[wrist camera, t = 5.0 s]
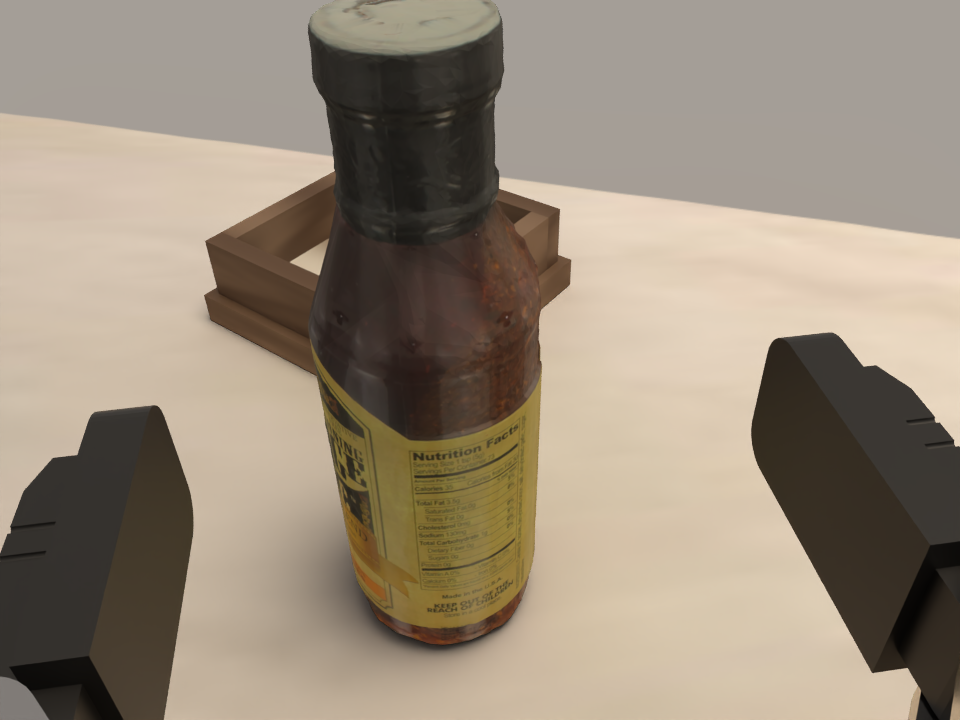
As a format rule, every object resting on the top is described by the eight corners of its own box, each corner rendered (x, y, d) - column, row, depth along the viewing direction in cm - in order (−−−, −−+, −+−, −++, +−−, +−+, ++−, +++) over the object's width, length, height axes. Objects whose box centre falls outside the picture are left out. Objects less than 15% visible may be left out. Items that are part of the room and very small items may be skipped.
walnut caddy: (407, 423, 37) (399, 340, 34) (210, 319, 43) (189, 242, 40) (569, 284, 45) (573, 207, 42) (383, 213, 51) (376, 142, 48)
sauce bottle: (369, 512, 33) (284, -39, 21) (531, 512, 33) (545, -43, 20) (345, 667, 28) (215, 61, 16) (538, 667, 28) (562, 55, 15)
